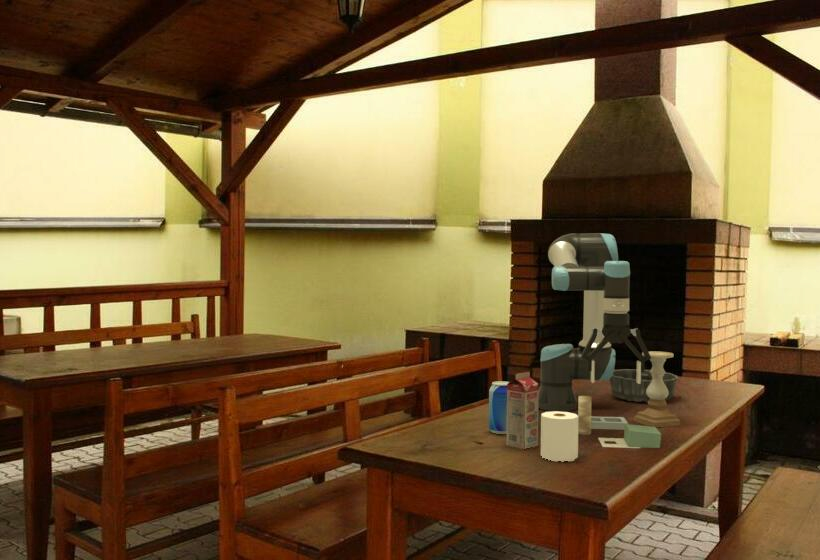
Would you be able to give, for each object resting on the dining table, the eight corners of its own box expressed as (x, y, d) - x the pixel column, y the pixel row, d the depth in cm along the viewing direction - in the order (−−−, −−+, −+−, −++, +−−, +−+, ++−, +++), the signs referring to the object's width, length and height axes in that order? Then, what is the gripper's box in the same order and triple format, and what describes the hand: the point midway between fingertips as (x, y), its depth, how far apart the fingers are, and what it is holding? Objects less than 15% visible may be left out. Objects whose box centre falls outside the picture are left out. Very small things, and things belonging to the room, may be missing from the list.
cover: (628, 445, 224) (629, 430, 224) (623, 438, 233) (625, 424, 233) (659, 449, 223) (661, 434, 223) (653, 441, 232) (655, 427, 232)
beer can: (494, 436, 238) (495, 385, 237) (485, 430, 246) (485, 381, 245) (519, 434, 240) (519, 384, 239) (509, 428, 248) (509, 380, 247)
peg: (578, 435, 239) (579, 397, 239) (577, 432, 243) (577, 395, 242) (591, 436, 239) (592, 398, 238) (590, 433, 242) (590, 395, 242)
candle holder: (633, 421, 260) (634, 351, 259) (659, 418, 264) (660, 350, 263) (654, 428, 249) (655, 356, 248) (681, 425, 253) (682, 354, 252)
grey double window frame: (580, 429, 247) (580, 421, 247) (578, 423, 256) (578, 415, 256) (627, 430, 245) (628, 423, 245) (623, 424, 254) (623, 417, 254)
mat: (602, 448, 224) (602, 446, 224) (597, 438, 235) (597, 437, 235) (640, 449, 223) (640, 448, 223) (634, 440, 234) (634, 438, 234)
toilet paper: (584, 456, 215) (584, 414, 214) (565, 464, 207) (566, 420, 206) (553, 450, 221) (553, 409, 221) (533, 457, 214) (534, 415, 213)
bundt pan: (682, 396, 304) (683, 371, 304) (672, 408, 281) (672, 382, 281) (616, 390, 317) (616, 367, 316) (600, 402, 293) (601, 376, 293)
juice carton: (506, 445, 226) (507, 372, 225) (520, 442, 231) (520, 370, 230) (524, 450, 222) (525, 375, 221) (538, 446, 226) (538, 372, 225)
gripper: (575, 312, 225) (574, 383, 226) (661, 313, 222) (660, 385, 223) (572, 310, 233) (572, 379, 234) (656, 311, 230) (655, 381, 231)
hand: (615, 382), depth 229 cm, fingers open, 13 cm apart
